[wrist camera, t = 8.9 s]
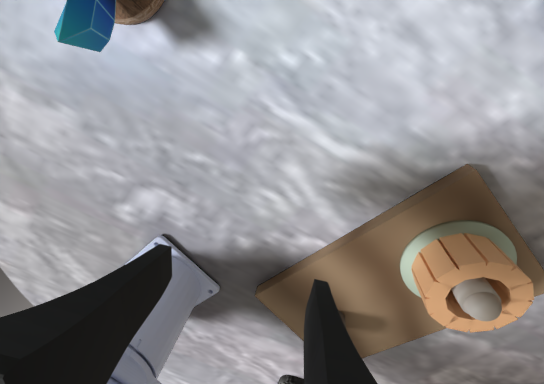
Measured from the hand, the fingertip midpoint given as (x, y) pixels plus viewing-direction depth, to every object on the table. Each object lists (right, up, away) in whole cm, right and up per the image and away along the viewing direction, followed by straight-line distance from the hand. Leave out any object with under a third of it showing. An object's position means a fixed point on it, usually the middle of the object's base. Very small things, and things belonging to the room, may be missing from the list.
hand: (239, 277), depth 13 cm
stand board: (+11, -4, +10) cm, 16 cm away
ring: (+15, -1, +7) cm, 17 cm away
